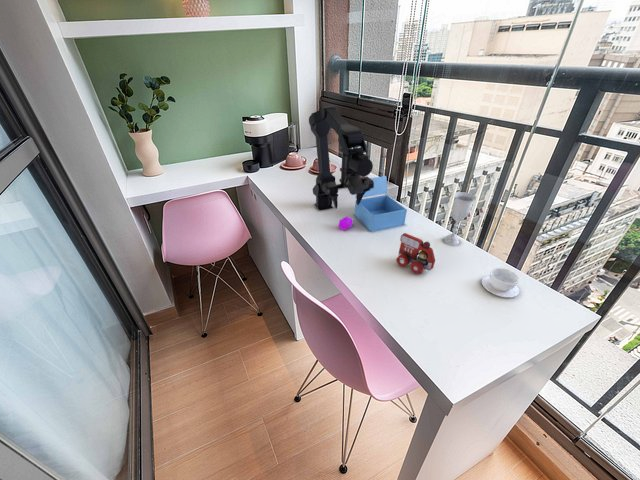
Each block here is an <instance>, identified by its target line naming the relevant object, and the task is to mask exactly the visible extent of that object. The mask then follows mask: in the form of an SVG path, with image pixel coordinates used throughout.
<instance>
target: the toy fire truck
mask: <svg viewBox="0 0 640 480" xmlns="http://www.w3.org/2000/svg"><path fill="white" fill-rule="evenodd" d="M399 241H400V245H399V249H398V255H397V258H396V263H397V265H398V266H399V267H402V268H406V267H407V266H409V268H410V270H411V272H412V273H413V274H415V275H419V274H422V273H423V272H424V270H427V271H432V270H433V269H434V268H435V267H434V266H435V263H436V258H435V253H434V249H433V248H432V247H431V242H429V241H423V240H422V239H421V238H418V237H416V236H414V235H411V234H408V233H406V232H404V233H402V234H401V235H400V238H399ZM410 263H411V264H410ZM409 264H410V265H409Z"/></svg>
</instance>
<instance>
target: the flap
mask: <svg viewBox="0 0 640 480" xmlns="http://www.w3.org/2000/svg"><path fill="white" fill-rule="evenodd" d="M369 178H370V179H371V180H373V181H374V188H372V189H370V191H367V192H366V193H365V194H364V195H363V197H362V199H364V198H370V197H376V196H381V195H387V194H388V180H387V179H388V178H387V175H383V176H377V177H369ZM354 196H355V199H356V198H357V194H355V195H354Z"/></svg>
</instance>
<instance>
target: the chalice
mask: <svg viewBox="0 0 640 480" xmlns="http://www.w3.org/2000/svg"><path fill="white" fill-rule="evenodd" d="M453 198H454V200H453V203H452V207H451V211H452V212H451V213H452V218H453V220H454V221H455V223H454V224H453V228H452V229H451V230H452V233H449V234H447V236H446V237H445V238H444V240H443V241H444V242H445V244H448V245H451V246H456V245H459V243H460V241H459V237H458V235H457V234H456V232H458V227H459V223H460V222H462V221H463V220H464V219H465V218H467V216H468V215H469V214H470V212H471V211H472V208H473V204H474V202H475V201H476V199H477V196H476V195H475V194H473V193H470V192H466V191H459V192H455V193H454V194H453Z"/></svg>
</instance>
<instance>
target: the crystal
mask: <svg viewBox="0 0 640 480" xmlns="http://www.w3.org/2000/svg"><path fill="white" fill-rule="evenodd" d="M353 221H354V219H353V218H352V217H349V216H344V217H343V218H341V219H339V222H338V229H341V230H343V231H347V230H349V229H350V228H351V227H352V226H353Z"/></svg>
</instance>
